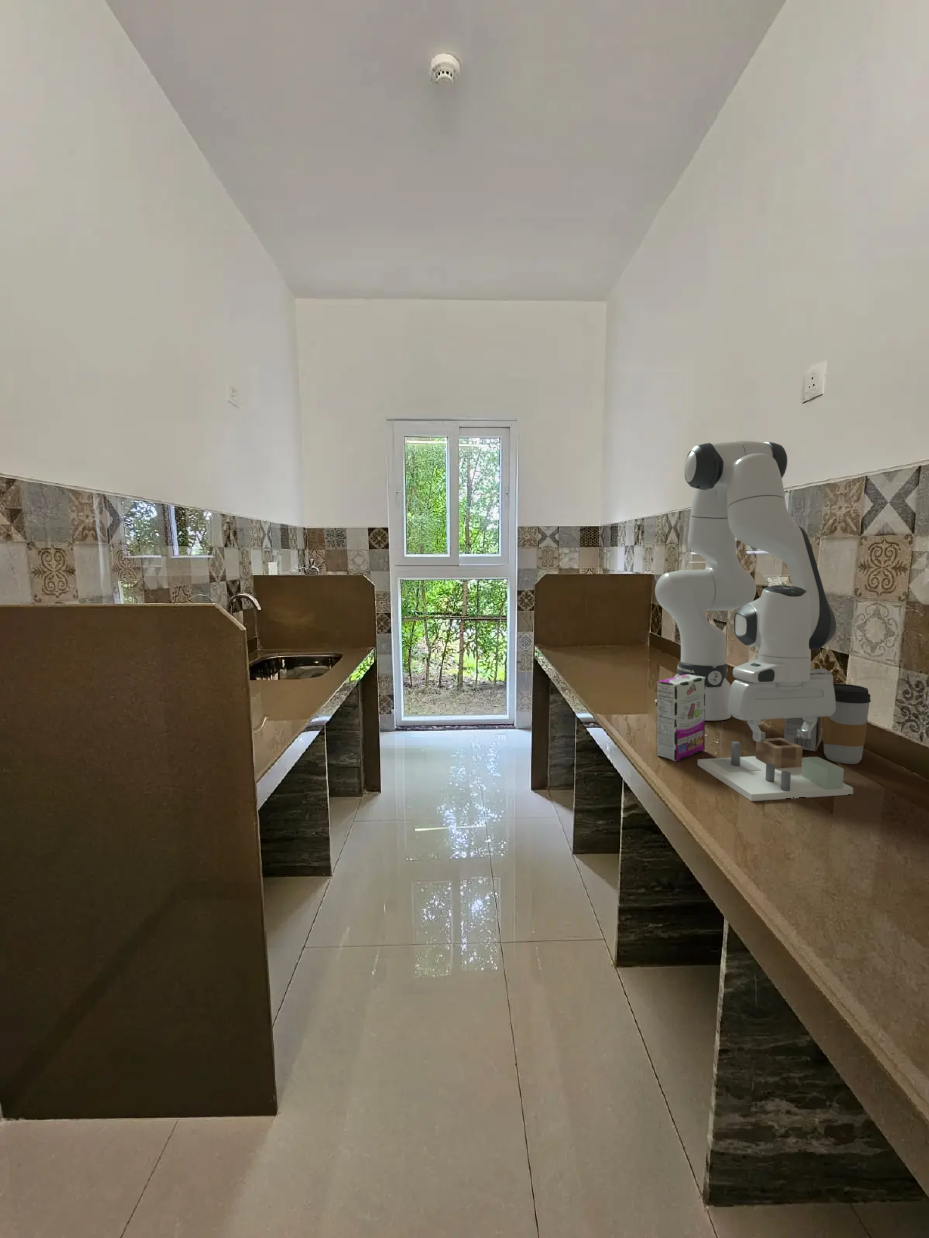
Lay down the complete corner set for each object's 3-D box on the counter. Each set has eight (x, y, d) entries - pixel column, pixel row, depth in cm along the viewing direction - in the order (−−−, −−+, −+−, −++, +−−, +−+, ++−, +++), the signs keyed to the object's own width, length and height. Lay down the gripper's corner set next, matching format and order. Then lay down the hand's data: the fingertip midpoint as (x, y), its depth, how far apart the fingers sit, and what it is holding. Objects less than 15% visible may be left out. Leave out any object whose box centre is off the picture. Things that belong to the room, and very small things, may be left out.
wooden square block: (755, 758, 109) (756, 739, 108) (781, 756, 109) (782, 737, 109) (774, 768, 103) (775, 748, 103) (801, 766, 104) (802, 746, 103)
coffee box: (789, 735, 126) (792, 668, 125) (822, 741, 122) (825, 671, 121) (782, 746, 119) (785, 674, 118) (816, 751, 115) (820, 677, 114)
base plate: (697, 765, 109) (698, 737, 108) (784, 760, 111) (786, 733, 110) (751, 801, 92) (752, 768, 91) (852, 794, 94) (854, 762, 93)
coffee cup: (876, 767, 106) (880, 692, 105) (829, 764, 108) (832, 691, 106) (854, 752, 114) (858, 683, 113) (811, 750, 116) (814, 682, 115)
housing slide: (801, 775, 99) (802, 757, 99) (816, 775, 100) (817, 756, 99) (826, 789, 93) (827, 769, 93) (842, 788, 94) (843, 768, 93)
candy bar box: (684, 745, 121) (685, 673, 119) (705, 751, 117) (707, 676, 115) (654, 756, 114) (655, 680, 113) (675, 762, 110) (677, 684, 109)
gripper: (820, 665, 108) (818, 732, 109) (724, 668, 106) (723, 737, 107) (845, 670, 102) (843, 741, 103) (745, 674, 100) (743, 747, 101)
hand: (781, 739), depth 105 cm, fingers open, 8 cm apart
